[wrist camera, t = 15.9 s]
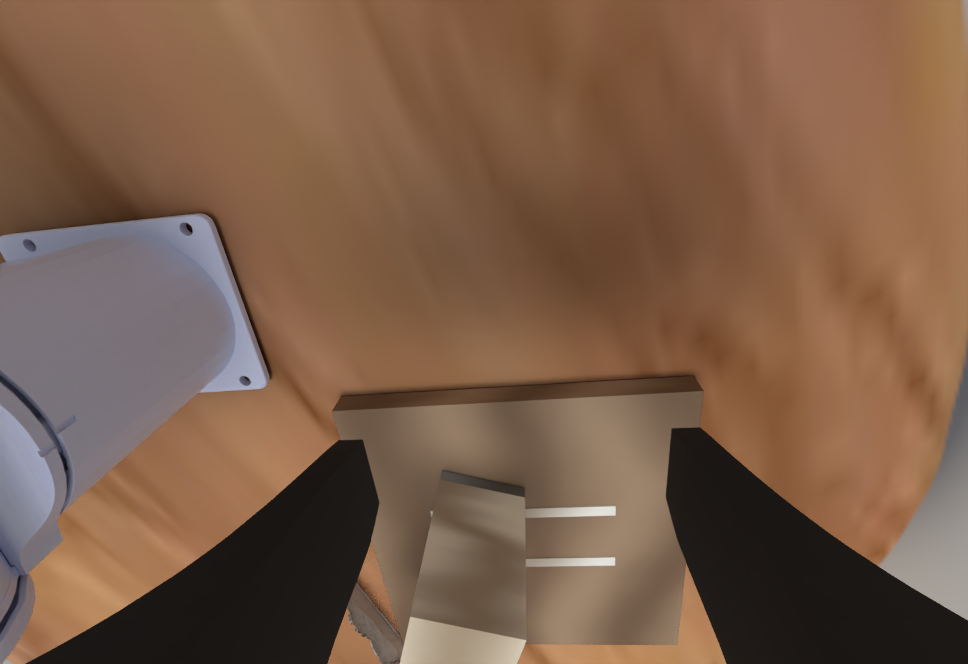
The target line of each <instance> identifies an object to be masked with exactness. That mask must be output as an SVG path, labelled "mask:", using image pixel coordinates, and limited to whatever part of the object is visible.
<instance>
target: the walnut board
mask: <svg viewBox="0 0 968 664" xmlns="http://www.w3.org/2000/svg"><path fill="white" fill-rule="evenodd" d="M703 393H704V391H703V389H702V388H701V386H700V385H699V383H698V381H697V380H696V378H695V377H694V376H684V377H667V378H649V379H632V380H615V381H598V382H581V383H563V384H546V385H529V386H512V387H495V388H477V389H460V390H443V391H426V392H409V393H391V394H374V395H357V396H341V398H340V399H339V401H338V402H337V404H336V406H335V407H334V409H333V410H332V413H333V416H334V420H335V423H336V426H337V429H338V433H339V436H340V439H341V440H360V439H363V442H364V446H365V449H366V453H367V457H368V461H369V465H370V468H371V472H372V476H373V480H374V483H375V487H376V491H377V495H378V499H379V502H380V503H379V508H378V512H377V517H376V522H375V526H374V530H373V534H372V538H371V541H372V544H373V548H374V551H375V554H376V558H377V561H378V564H379V567H380V571H381V574H382V577H383V581H384V584H385V587H386V590H387V594H388V597H389V600H390V603H391V607H392V610H393V613H394V617H395V620H396V623H397V626H398V630H399V633H400V636H401V640H402V643H403V644H404V641H405V636H406V632H407V627H408V623H409V618H410V614H411V609H412V604H413V600H414V595H415V591H416V586H417V582H418V577H419V573H420V568H421V564H422V559H423V555H424V550H425V545H426V541H427V536H428V532H429V527H430V523H431V518H432V514H433V509H434V505H435V500H436V496H437V491H438V487H439V482H440V478H441V473H442V471H447V472H452V473H457V474H461V475H466V476H471V477H475V478H480V479H485V480H490V481H494V482H499V483H504V484H508V485H513V486H518V487H523V488H525V540H526V637H527V640H526V643H525V644H581V645H678V635H679V625H680V616H681V606H682V596H683V587H684V577H685V567H686V561H685V558H684V556H683V553H682V551H681V548H680V546H679V543H678V540H677V537H676V533H675V530H674V526H673V523H672V519H671V516H670V512H669V508H668V504H667V500H666V486H667V475H668V463H669V452H670V440H671V429H672V428H694V427H700V422H701V412H702V402H703Z"/></svg>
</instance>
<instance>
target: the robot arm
mask: <svg viewBox="0 0 968 664" xmlns="http://www.w3.org/2000/svg"><path fill="white" fill-rule="evenodd" d="M186 223H188V224H189V225H191V227H192V229H193V233H191V232H190V231H188V229H187V228H186ZM33 243H34V244H35V245H36V247H35V246H34V244H33ZM0 252H1V254H2V255H3V257H4V259H5V261H6V262H4V263H1V264H0V664H2V663H3V662H4V661H5V659H6V658H7V657H8V655H9V654H10V653H11V652H12V650H13V649H14V647H15V646H16V644H17V642H18V641H19V639H20V637H21V636H22V634H23V632H24V631H25V629H26V627H27V624H28V622H29V620H30V617H31V615H32V613H33V608H34V603H35V588H34V582H33V580H32V578H31V576H30V574H29V572H30V571H31V570H32V569H33V568H34V567H35V566H36V565H37V564H39V563H40V562H41V561H42V560H43V559H44V558H45V557H46V556H47V555H48V554H49V553H50V552H51V551H52V550H53V549H54V548H55V547H57V546H58V545H59V544H60V543H61V542H62V541H63V537H62V535H61V533H60V531H59V527H58V517H59V515H60V514H61V513H63V512H64V511H65V510H66V509H67V508H68V507H69V506H70V505H72V504H73V503H74V502H75V501H76V500H77V499H78V498H80V497H81V496H82V495H83V494H84V493H85V492H86V491H87V490H89V489H90V488H91V487H92V486H93V485H94V484H95V483H97V482H98V481H99V480H100V479H101V478H102V477H103V476H104V475H106V474H107V473H108V472H109V471H110V470H111V469H112V468H114V467H115V466H116V465H117V464H118V463H119V462H120V461H121V460H123V459H124V458H125V457H126V456H127V455H128V454H129V453H131V452H132V451H133V450H134V449H135V448H136V447H137V446H138V445H140V444H141V443H142V442H143V441H144V440H145V439H146V438H148V437H149V436H150V435H151V434H152V433H153V432H154V431H155V430H157V429H158V428H159V427H160V426H161V425H162V424H163V423H165V422H166V421H167V420H168V419H169V418H170V417H171V416H172V415H174V414H175V413H176V412H177V411H178V410H179V409H180V408H182V407H183V406H184V405H185V404H186V403H187V402H188V401H189V400H191V399H192V398H193V397H194V396H195V395H196V394H197V393H203V392H220V391H236V390H252V389H262V388H264V387H265V386H266V385H267V384H268V383H269V380H270V377H269V374H268V371H267V368H266V365H265V362H264V360H263V357H262V354H261V351H260V349H259V346H258V343H257V340H256V337H255V335H254V332H253V329H252V326H251V323H250V321H249V318H248V315H247V312H246V310H245V307H244V304H243V301H242V298H241V296H240V293H239V290H238V287H237V285H236V282H235V279H234V276H233V273H232V271H231V268H230V265H229V262H228V260H227V257H226V254H225V251H224V248H223V246H222V243H221V240H220V237H219V234H218V232H217V229H216V226H215V224H214V222H213V220H212V219H211V218H210V217H209V216H207V215H205V214H201V213H196V214H187V215H178V216H169V217H160V218H150V219H141V220H132V221H123V222H114V223H104V224H95V225H86V226H77V227H68V228H58V229H49V230H40V231H31V232H22V233H12V234H7V235H3V236H0ZM244 376H246V377H248V378H249V379H250V381H248V380H246V379H245V377H244ZM666 500H667V504H668V508H669V512H670V516H671V519H672V523H673V526H674V530H675V533H676V537H677V540H678V543H679V546H680V548H681V551H682V553H683V556H684V558H685V561H686V563H687V566H688V568H689V571H690V573H691V576H692V578H693V581H694V583H695V585H696V588H697V590H698V593H699V595H700V598H701V600H702V603H703V605H704V608H705V610H706V612H707V615H708V617H709V620H710V622H711V625H712V627H713V630H714V632H715V634H716V637H717V639H718V642H719V644H720V647H721V650H722V652H723V655H724V658H725V661H726V663H727V664H968V620H966V619H964V618H962V617H961V616H959V615H957V614H955V613H954V612H952V611H950V610H948V609H947V608H945V607H944V606H942V605H940V604H938V603H937V602H935V601H933V600H932V599H930V598H928V597H927V596H925V595H923V594H921V593H920V592H918V591H916V590H915V589H913V588H911V587H910V586H908V585H906V584H905V583H903V582H902V581H900V580H898V579H897V578H895V577H894V576H892V575H890V574H889V573H887V572H886V571H884V570H883V569H881V568H880V567H878V566H877V565H875V564H874V563H872V562H871V561H869V560H868V559H866V558H865V557H863V556H862V555H860V554H859V553H857V552H856V551H854V550H853V549H851V548H850V547H848V546H847V545H845V544H844V543H842V542H841V541H839V540H838V539H837V538H835V537H834V536H832V535H831V534H829V533H828V532H827V531H825V530H824V529H823V528H821V527H820V526H819V525H817V524H816V523H815V522H813V521H812V520H811V519H809V518H808V517H807V516H805V515H804V514H803V513H801V512H800V511H799V510H797V509H796V508H795V507H793V506H792V505H791V504H790V503H788V502H787V501H786V500H784V499H783V498H782V497H781V496H779V495H778V494H777V493H776V492H774V491H773V490H772V489H771V488H770V487H768V486H767V485H766V484H765V483H764V482H762V481H761V480H760V479H759V478H757V477H756V476H755V475H754V474H753V473H752V472H750V471H749V470H748V469H747V468H746V467H745V466H743V465H742V464H741V463H740V462H739V461H738V460H737V459H735V458H734V457H733V456H732V455H731V454H730V453H729V452H727V451H726V450H725V449H724V448H723V447H722V446H721V445H720V444H718V443H717V442H716V441H715V440H714V439H713V438H712V437H711V436H709V435H708V434H707V433H706V432H705V431H704V430H702V429H701V428H700V427H694V428H672V429H671V440H670V452H669V463H668V475H667V486H666ZM379 503H380V502H379V499H378V495H377V491H376V487H375V483H374V480H373V476H372V472H371V468H370V465H369V461H368V457H367V453H366V449H365V446H364V442H363V439H360V440H339V441H337V442H336V443H335V444H334V445H333V446H331V447H330V448H329V449H328V450H327V451H326V452H325V453H323V454H322V455H321V456H320V457H319V458H318V459H317V460H316V461H315V462H314V463H312V464H311V465H310V466H309V467H308V468H307V469H306V470H305V471H304V472H303V473H302V474H300V475H299V476H298V477H297V478H296V479H295V480H294V481H293V482H292V483H290V484H289V485H288V486H287V487H286V488H285V489H284V490H283V491H281V492H280V493H279V494H278V495H277V496H276V497H275V498H274V499H273V500H271V501H270V502H269V503H268V504H267V505H265V506H264V507H263V508H262V509H261V510H259V511H258V512H257V513H256V514H255V515H253V516H252V517H251V518H250V519H249V520H247V521H246V522H245V523H244V524H243V525H241V526H240V527H239V528H238V529H237V530H235V531H234V532H233V533H232V534H230V535H229V536H228V537H227V538H225V539H224V540H223V541H221V542H220V543H219V544H217V545H216V546H215V547H213V548H212V549H211V550H210V551H208V552H207V553H205V554H204V555H203V556H201V557H200V558H198V559H197V560H196V561H194V562H193V563H191V564H190V565H189V566H187V567H186V568H184V569H183V570H182V571H180V572H179V573H177V574H176V575H174V576H173V577H171V578H170V579H168V580H167V581H165V582H164V583H162V584H161V585H159V586H157V587H156V588H154V589H153V590H151V591H150V592H148V593H147V594H145V595H143V596H142V597H140V598H139V599H137V600H136V601H134V602H133V603H131V604H129V605H128V606H126V607H125V608H123V609H122V610H120V611H118V612H117V613H115V614H113V615H112V616H110V617H108V618H107V619H105V620H103V621H102V622H100V623H98V624H96V625H95V626H93V627H91V628H90V629H88V630H86V631H85V632H83V633H81V634H79V635H77V636H76V637H74V638H72V639H70V640H68V641H67V642H65V643H63V644H61V645H59V646H58V647H56V648H54V649H52V650H50V651H49V652H47V653H45V654H43V655H41V656H39V657H37V658H36V659H34V660H32V661H30V662H28V663H26V664H327V663H328V660H329V657H330V654H331V651H332V648H333V645H334V641H335V639H336V636H337V633H338V630H339V628H340V625H341V622H342V620H343V617H344V614H345V612H346V609H347V606H348V603H349V601H350V598H351V595H352V593H353V590H354V587H355V584H356V582H357V579H358V576H359V574H360V571H361V568H362V565H363V562H364V560H365V557H366V554H367V551H368V548H369V546H370V542H371V538H372V534H373V530H374V526H375V522H376V517H377V512H378V508H379Z"/></svg>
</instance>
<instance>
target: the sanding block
mask: <svg viewBox="0 0 968 664" xmlns="http://www.w3.org/2000/svg"><path fill="white" fill-rule="evenodd" d="M526 640H527V637H526V540H525V488H523V487H518V486H513V485H508V484H504V483H499V482H494V481H490V480H485V479H480V478H475V477H471V476H466V475H461V474H457V473H452V472H447V471H442V473H441V478H440V482H439V487H438V491H437V496H436V500H435V505H434V509H433V514H432V518H431V523H430V527H429V532H428V536H427V541H426V545H425V550H424V555H423V559H422V564H421V568H420V573H419V577H418V582H417V586H416V591H415V595H414V600H413V604H412V609H411V614H410V618H409V623H408V627H407V632H406V636H405V641H404V646H403V650H402V655H401V659H400V664H517V662H518V660H519V657H520V655H521V652H522V650H523V648H524V645H525V643H526Z"/></svg>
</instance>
